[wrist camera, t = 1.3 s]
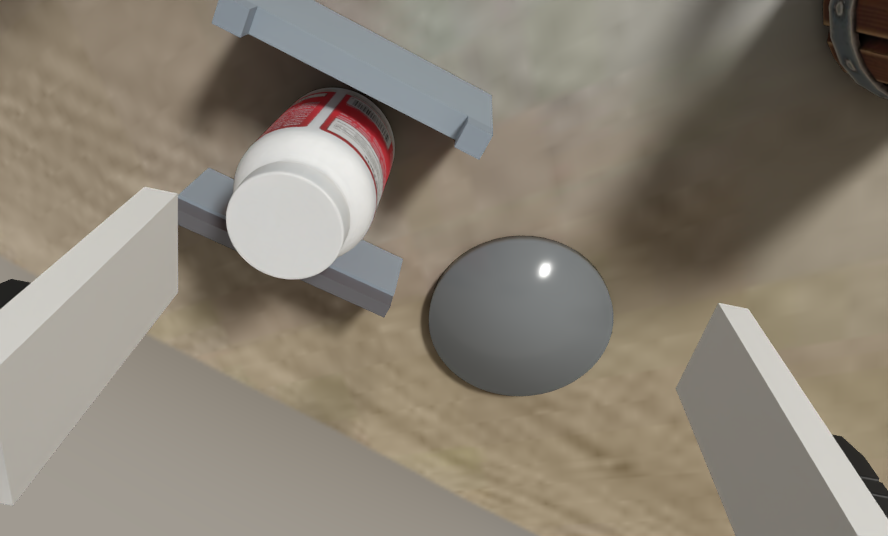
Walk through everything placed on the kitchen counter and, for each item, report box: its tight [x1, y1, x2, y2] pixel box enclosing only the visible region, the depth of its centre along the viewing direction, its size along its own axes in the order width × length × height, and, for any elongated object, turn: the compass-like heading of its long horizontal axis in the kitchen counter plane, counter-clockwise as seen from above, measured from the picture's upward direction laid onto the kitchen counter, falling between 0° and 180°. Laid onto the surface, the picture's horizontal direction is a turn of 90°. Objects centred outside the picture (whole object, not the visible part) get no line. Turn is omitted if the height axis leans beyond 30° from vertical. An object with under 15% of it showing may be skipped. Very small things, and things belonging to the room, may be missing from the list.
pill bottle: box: [226, 87, 395, 279], centre depth 30 cm, size 6×6×11 cm
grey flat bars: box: [178, 0, 493, 317], centre depth 32 cm, size 12×12×7 cm
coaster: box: [429, 236, 613, 396], centre depth 39 cm, size 11×11×1 cm
